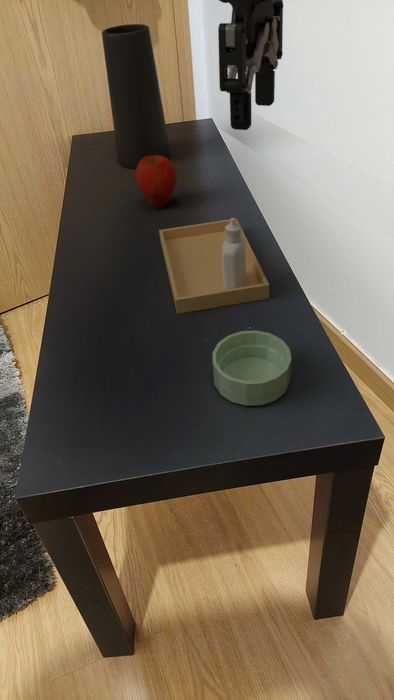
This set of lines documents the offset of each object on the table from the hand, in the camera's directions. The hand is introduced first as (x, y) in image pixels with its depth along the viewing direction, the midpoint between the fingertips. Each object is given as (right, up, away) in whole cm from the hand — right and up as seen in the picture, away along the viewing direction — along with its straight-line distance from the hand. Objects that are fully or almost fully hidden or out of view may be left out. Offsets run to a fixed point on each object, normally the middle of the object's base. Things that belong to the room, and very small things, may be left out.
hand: (253, 116), depth 60 cm
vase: (-20, +22, +72) cm, 78 cm away
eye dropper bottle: (0, -16, +26) cm, 31 cm away
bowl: (+1, -31, +10) cm, 33 cm away
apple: (-15, +4, +52) cm, 54 cm away
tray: (-4, -13, +31) cm, 34 cm away
